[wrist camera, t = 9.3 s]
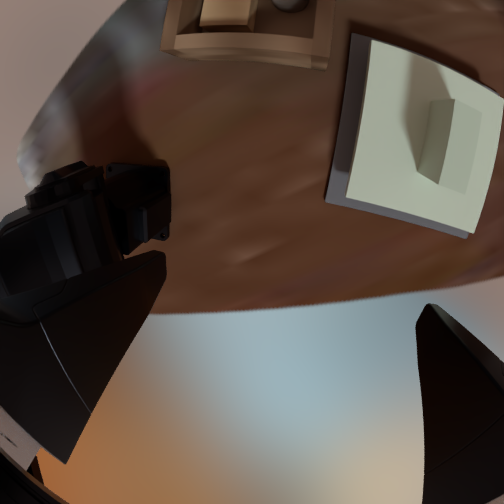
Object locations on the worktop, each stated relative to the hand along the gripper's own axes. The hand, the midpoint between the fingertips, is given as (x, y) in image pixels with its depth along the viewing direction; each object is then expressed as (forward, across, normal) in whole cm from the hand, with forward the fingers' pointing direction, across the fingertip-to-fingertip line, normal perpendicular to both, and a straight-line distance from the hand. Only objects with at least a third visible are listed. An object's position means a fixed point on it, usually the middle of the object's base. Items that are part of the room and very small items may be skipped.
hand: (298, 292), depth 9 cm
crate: (+13, +5, -14) cm, 20 cm away
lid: (+13, -8, -6) cm, 16 cm away
